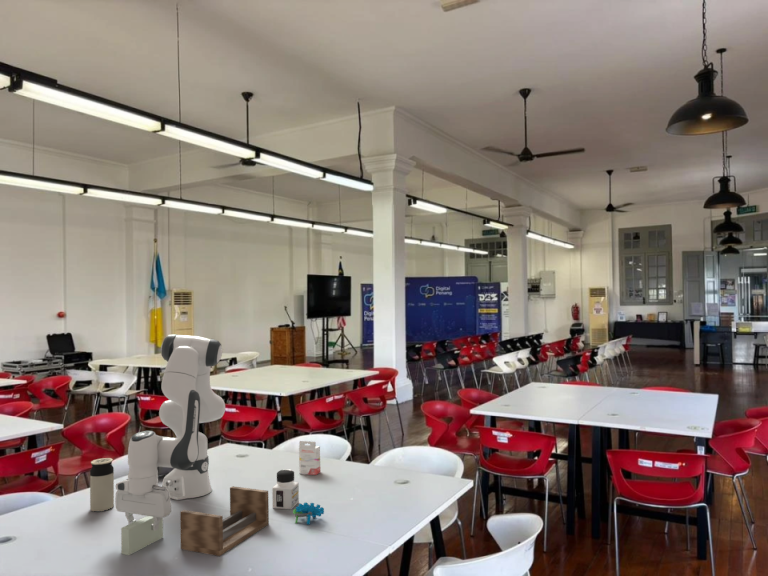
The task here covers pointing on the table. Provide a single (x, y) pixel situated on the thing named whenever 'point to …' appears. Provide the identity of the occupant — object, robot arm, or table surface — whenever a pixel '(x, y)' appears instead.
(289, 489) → the container
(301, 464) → the ink cartridge box
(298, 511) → the gear
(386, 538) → the table surface
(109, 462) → the travel mug
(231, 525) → the cabinet base
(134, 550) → the door panel
